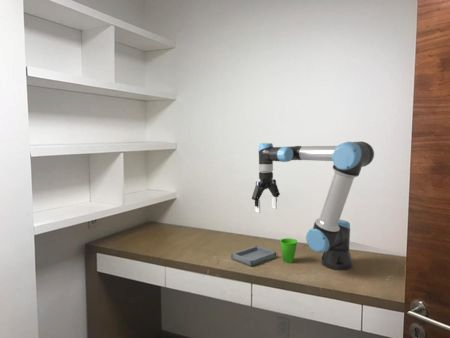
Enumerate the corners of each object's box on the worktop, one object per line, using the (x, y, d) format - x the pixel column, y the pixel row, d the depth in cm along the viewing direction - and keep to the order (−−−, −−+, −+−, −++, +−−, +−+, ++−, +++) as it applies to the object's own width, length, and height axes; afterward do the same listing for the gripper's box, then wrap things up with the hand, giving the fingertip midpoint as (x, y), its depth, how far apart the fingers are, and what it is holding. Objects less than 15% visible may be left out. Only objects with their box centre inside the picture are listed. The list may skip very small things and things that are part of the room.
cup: (297, 265, 181) (297, 244, 180) (278, 264, 183) (279, 243, 182) (297, 259, 190) (297, 238, 189) (279, 257, 192) (280, 237, 190)
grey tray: (276, 257, 192) (276, 252, 191) (251, 266, 179) (251, 261, 179) (256, 250, 202) (256, 245, 202) (231, 259, 190) (231, 253, 189)
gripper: (275, 169, 205) (275, 206, 207) (244, 173, 189) (245, 212, 191) (285, 170, 200) (286, 207, 202) (255, 174, 183) (255, 214, 185)
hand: (266, 210), depth 196 cm, fingers open, 13 cm apart
